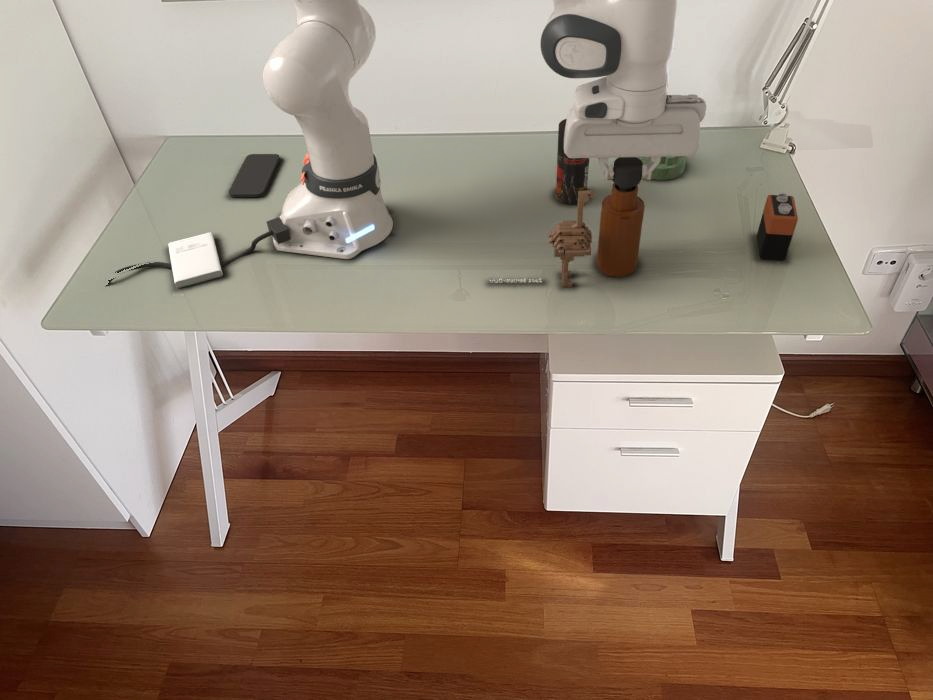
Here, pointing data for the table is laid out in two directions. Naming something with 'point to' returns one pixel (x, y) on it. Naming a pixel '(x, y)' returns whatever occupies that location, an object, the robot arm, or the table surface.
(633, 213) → the bottle
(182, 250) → the white power adapter
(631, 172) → the bung
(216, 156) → the table surface
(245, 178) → the phone
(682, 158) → the decorative artifact
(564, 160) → the deodorant
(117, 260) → the table surface
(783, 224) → the battery
